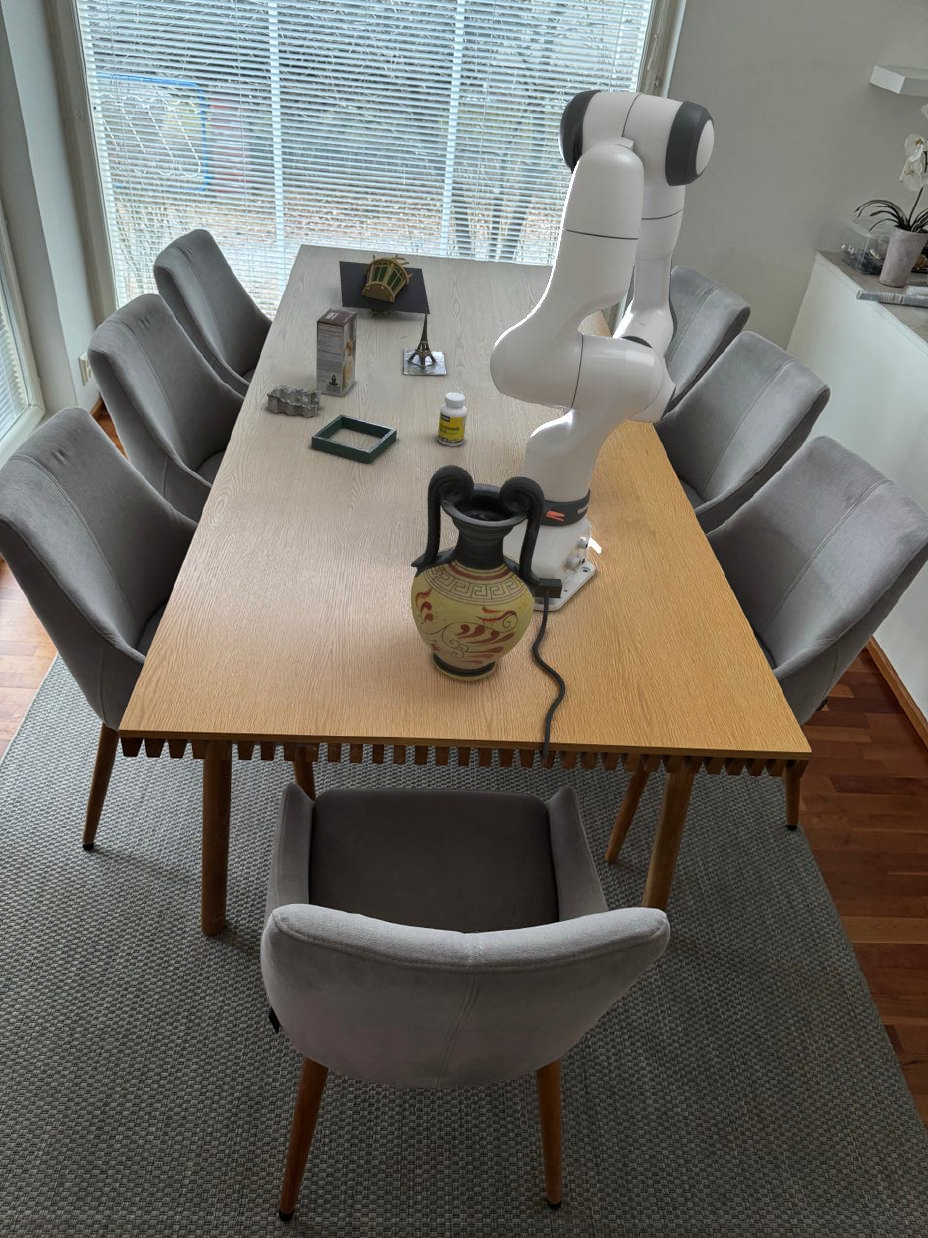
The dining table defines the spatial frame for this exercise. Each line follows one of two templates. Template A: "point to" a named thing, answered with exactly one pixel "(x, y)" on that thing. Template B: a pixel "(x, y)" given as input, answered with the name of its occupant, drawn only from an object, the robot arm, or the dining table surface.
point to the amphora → (476, 572)
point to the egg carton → (294, 401)
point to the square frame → (351, 452)
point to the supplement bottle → (452, 420)
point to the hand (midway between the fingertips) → (515, 367)
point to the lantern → (383, 286)
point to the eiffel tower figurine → (423, 358)
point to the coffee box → (336, 351)
